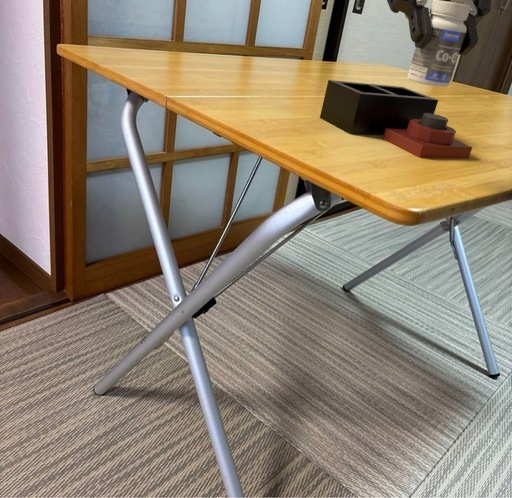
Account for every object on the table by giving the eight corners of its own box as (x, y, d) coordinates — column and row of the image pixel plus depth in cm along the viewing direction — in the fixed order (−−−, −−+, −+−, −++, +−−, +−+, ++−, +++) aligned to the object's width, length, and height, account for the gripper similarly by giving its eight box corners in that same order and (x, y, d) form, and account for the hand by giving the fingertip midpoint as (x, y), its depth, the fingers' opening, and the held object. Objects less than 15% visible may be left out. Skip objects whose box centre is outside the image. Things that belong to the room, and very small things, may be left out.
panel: (430, 140, 82) (437, 118, 80) (468, 158, 76) (477, 135, 74) (382, 139, 77) (389, 116, 75) (418, 157, 71) (427, 133, 69)
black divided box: (392, 121, 90) (403, 86, 87) (426, 137, 83) (438, 100, 81) (319, 118, 82) (328, 79, 80) (349, 134, 76) (360, 93, 73)
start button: (432, 125, 77) (435, 113, 76) (449, 132, 74) (453, 120, 73) (414, 124, 75) (418, 112, 75) (431, 131, 73) (435, 119, 72)
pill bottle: (431, 88, 56) (457, 3, 52) (398, 77, 59) (420, -4, 55) (456, 88, 58) (483, 8, 54) (423, 78, 62) (446, 1, 58)
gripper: (388, -122, 55) (405, 12, 50) (501, -93, 58) (527, 34, 54) (357, -63, 62) (369, 59, 57) (460, -41, 65) (479, 76, 61)
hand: (446, 46), depth 55 cm, fingers closed on pill bottle, 4 cm apart
